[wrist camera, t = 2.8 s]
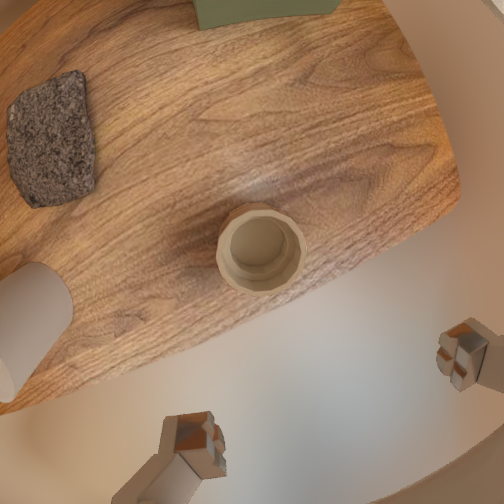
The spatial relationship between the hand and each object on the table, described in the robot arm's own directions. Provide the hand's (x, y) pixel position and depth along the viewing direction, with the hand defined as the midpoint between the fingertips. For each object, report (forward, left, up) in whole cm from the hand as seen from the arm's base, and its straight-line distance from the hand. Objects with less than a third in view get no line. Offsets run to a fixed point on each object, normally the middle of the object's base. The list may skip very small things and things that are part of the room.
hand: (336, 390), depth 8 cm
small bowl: (+1, -1, -17) cm, 17 cm away
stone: (+16, -15, -18) cm, 28 cm away
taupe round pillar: (+24, -1, -18) cm, 29 cm away
